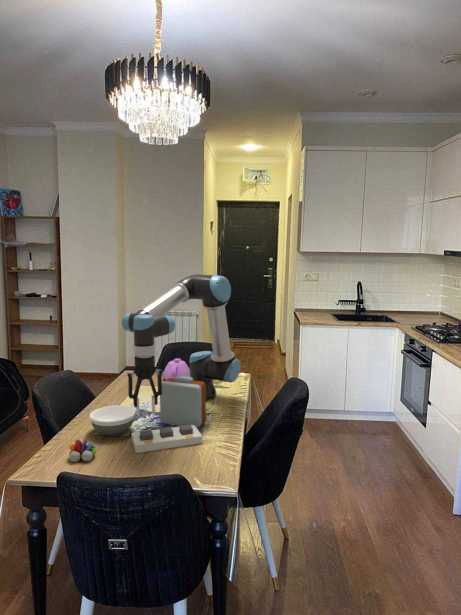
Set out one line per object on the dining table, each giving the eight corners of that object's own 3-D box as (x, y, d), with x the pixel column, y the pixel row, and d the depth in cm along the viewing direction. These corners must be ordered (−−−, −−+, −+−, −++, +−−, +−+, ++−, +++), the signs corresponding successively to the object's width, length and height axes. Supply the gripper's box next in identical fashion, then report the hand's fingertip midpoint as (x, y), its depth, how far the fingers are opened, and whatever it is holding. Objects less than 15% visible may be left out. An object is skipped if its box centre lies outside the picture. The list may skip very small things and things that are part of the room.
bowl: (95, 444, 183) (94, 424, 182) (86, 427, 200) (85, 409, 198) (141, 435, 192) (141, 416, 190) (129, 420, 208) (128, 402, 207)
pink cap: (188, 385, 257) (188, 364, 255) (160, 385, 258) (159, 363, 256) (192, 374, 279) (192, 354, 277) (166, 373, 279) (166, 354, 278)
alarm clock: (206, 421, 207) (206, 376, 204) (198, 429, 198) (198, 382, 195) (168, 416, 213) (168, 372, 210) (159, 423, 204) (158, 378, 201)
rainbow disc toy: (72, 453, 176) (71, 434, 175) (98, 452, 177) (97, 434, 176) (66, 463, 168) (65, 444, 167) (94, 463, 169) (93, 444, 168)
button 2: (190, 431, 191) (190, 424, 191) (192, 436, 187) (192, 428, 187) (179, 433, 190) (179, 425, 189) (182, 437, 186) (182, 430, 185)
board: (194, 431, 196) (194, 424, 196) (202, 443, 185) (202, 435, 184) (131, 440, 187) (131, 432, 187) (135, 453, 176) (135, 445, 176)
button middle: (170, 434, 189) (170, 427, 188) (173, 438, 184) (173, 431, 184) (160, 436, 187) (159, 428, 187) (162, 440, 183) (162, 432, 183)
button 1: (151, 437, 186) (150, 429, 185) (153, 441, 182) (152, 434, 181) (139, 438, 184) (139, 431, 184) (141, 443, 180) (141, 435, 180)
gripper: (166, 351, 185) (167, 407, 188) (118, 355, 179) (120, 413, 182) (170, 355, 178) (171, 414, 181) (121, 359, 172) (123, 420, 175)
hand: (145, 413), depth 182 cm, fingers open, 5 cm apart
